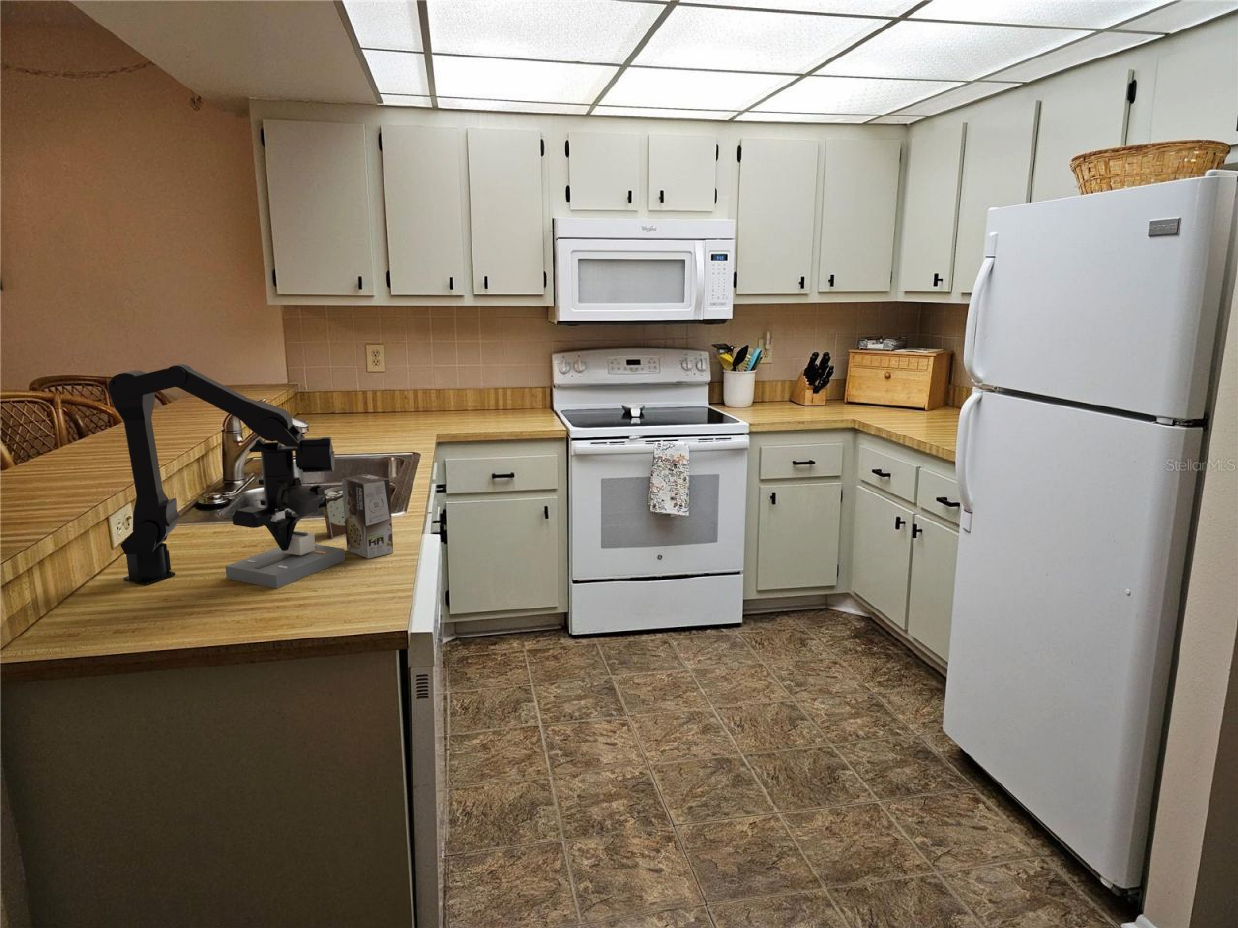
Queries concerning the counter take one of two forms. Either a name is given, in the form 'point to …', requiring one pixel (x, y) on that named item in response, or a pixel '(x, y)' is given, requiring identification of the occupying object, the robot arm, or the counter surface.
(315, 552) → the fader console
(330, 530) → the food container
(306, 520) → the counter surface
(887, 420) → the counter surface
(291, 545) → the fader tab
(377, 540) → the coffee box
